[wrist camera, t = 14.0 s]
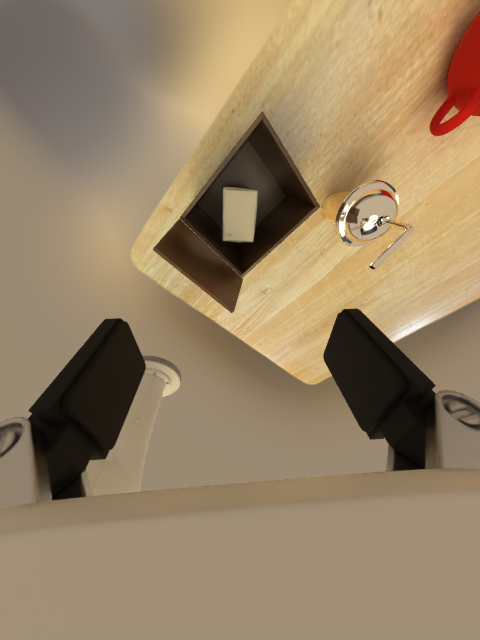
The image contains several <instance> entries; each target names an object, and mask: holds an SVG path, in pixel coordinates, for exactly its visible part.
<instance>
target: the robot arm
mask: <svg viewBox="0 0 480 640" xmlns="http://www.w3.org/2000/svg"><path fill="white" fill-rule="evenodd" d="M324 361H325V363H326V365H327V367H328V369H329V370H330V372H331V374H332V376H333V378H334V380H335V382H336V383H337V385H338V387H339V389H340V391H341V393H342V395H343V396H344V398H345V400H346V402H347V404H348V406H349V407H350V409H351V411H352V413H353V415H354V417H355V419H356V420H357V422H358V424H359V426H360V427H361V429H362V430H363V431H365V432H366V433H367V435H368V436H369V438H370V439H383V438H385V439H386V440H387V442H388V444H389V447H388V457H387V464H386V472H374V473H362V474H350V475H335V476H323V477H310V478H297V479H285V480H273V481H262V482H249V483H237V484H225V485H213V486H201V487H189V488H179V489H167V490H155V491H143V492H140V488H141V482H142V474H143V467H144V462H145V457H146V452H147V448H148V445H149V441H150V437H151V434H152V430H153V426H154V423H155V420H156V416H157V413H158V409H159V405H160V402H161V398H162V395H163V393H164V392H166V391H167V390H168V389H169V388H170V385H171V381H170V378H169V377H168V376H167V375H166V374H165V373H163V372H161V371H159V370H155V369H150V368H146V364H145V361H144V359H143V357H142V354H141V352H140V350H139V348H138V345H137V343H136V341H135V338H134V336H133V334H132V331H131V329H130V327H129V325H128V323H127V322H124V321H123V320H122V319H120V318H118V319H105V320H104V321H103V322H102V323H101V324H100V326H99V327H98V328H97V329H96V330H95V332H94V333H93V334H92V335H91V336H90V338H89V339H88V340H87V341H86V342H85V344H84V345H83V346H82V347H81V348H80V349H79V351H78V352H77V353H76V354H75V355H74V357H73V358H72V359H71V360H70V361H69V363H68V364H67V365H66V366H65V368H64V369H63V370H62V371H61V372H60V373H59V375H58V376H57V377H56V378H55V380H54V381H53V382H52V383H51V384H50V385H49V387H48V388H47V389H46V390H45V391H44V393H43V394H42V395H41V396H40V397H39V399H38V400H37V401H36V402H35V404H34V405H33V406H32V407H31V408H30V409H29V411H30V412H31V413H32V415H31V416H30V417H29V418H28V419H26V418H24V417H14V418H10V419H6V420H4V421H2V422H0V640H480V403H479V402H477V401H476V400H474V399H472V398H470V397H468V396H466V395H464V394H462V393H458V392H455V391H449V390H443V391H439V392H438V393H436V394H435V393H434V392H433V391H432V389H433V388H434V386H436V385H435V384H434V383H433V382H432V381H431V380H430V379H429V378H428V377H427V376H426V375H425V374H424V373H423V372H422V371H421V370H420V369H419V368H418V367H417V366H416V365H415V364H414V363H413V362H412V361H411V360H410V359H409V358H408V357H407V356H406V355H405V354H404V353H402V351H401V350H400V349H399V348H397V347H396V345H395V344H394V343H393V342H392V341H390V340H389V339H388V338H387V337H386V336H385V335H384V334H383V333H382V332H381V331H380V330H379V329H378V328H377V327H376V326H375V325H374V324H373V323H372V322H371V321H370V320H369V319H368V318H367V317H366V316H365V315H364V314H363V313H362V312H361V311H360V310H359V309H344V310H342V312H341V313H339V314H338V315H337V318H336V321H335V324H334V327H333V329H332V332H331V335H330V338H329V341H328V343H327V346H326V349H325V352H324ZM109 451H110V454H111V457H112V459H106V457H107V455H108V452H109Z"/></svg>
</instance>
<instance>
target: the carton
mask: <svg viewBox="0 0 480 640" xmlns="http://www.w3.org/2000/svg"><path fill="white" fill-rule="evenodd" d="M224 186H237V187H247V188H250V189H254V190H257V191H258V196H257V212H256V223H255V232H254V239H253V242H233V241H223V188H224ZM319 207H320V205H319V204H318V202H317V201H316V199H315V197H314V196H313V194H312V192H311V191H310V189H309V187H308V186H307V184H306V182H305V181H304V179H303V177H302V176H301V174H300V172H299V171H298V169H297V167H296V166H295V164H294V162H293V161H292V159H291V158H290V156H289V154H288V153H287V151H286V149H285V148H284V146H283V144H282V143H281V141H280V139H279V138H278V136H277V134H276V133H275V131H274V129H273V128H272V126H271V124H270V123H269V121H268V119H267V118H266V116H265V114H264V113H263V111H262V112H261V114H260V115H259V116H258V118H257V119H256V120H255V121H254V123H253V124H252V125H251V127H250V128H249V129H248V130H247V132H246V133H245V134H244V136H243V137H242V138H241V139H240V141H239V142H238V143H237V145H236V146H235V147H234V149H233V150H232V151H231V152H230V154H229V155H228V156H227V158H226V159H225V160H224V161H223V163H222V164H221V165H220V167H219V168H218V169H217V170H216V172H215V173H214V174H213V176H212V177H211V178H210V179H209V181H208V182H207V183H206V185H205V186H204V187H203V189H202V190H201V191H200V192H199V194H198V195H197V196H196V198H195V199H194V200H193V201H192V203H191V204H190V205H189V207H188V208H187V209H186V210H185V212H184V213H183V214H182V216H181V217H180V219H181V220H182V221H183V222H184V223H185V224H186V225H187V226H188V227H189V228H191V229H192V230H193V231H194V232H195V233H196V234H197V235H198V236H199V237H200V238H201V239H202V240H203V241H204V242H205V243H206V244H207V245H208V246H209V247H210V248H211V249H213V250H214V251H215V252H216V253H217V254H218V255H219V256H220V257H221V258H222V259H223V260H224V261H225V262H226V263H227V264H228V265H229V266H230V267H231V268H232V269H233V270H235V271H236V272H237V273H238V274H239V275H240V276H241V277H242V278H243V277H244V276H245V275H246V274H247V273H248V272H249V271H250V270H251V269H252V268H254V267H255V266H256V265H257V264H258V263H259V262H260V261H261V260H262V259H263V258H265V257H266V256H267V255H268V254H269V253H270V252H271V251H272V250H273V249H274V248H275V247H277V246H278V245H279V244H280V243H281V242H282V241H283V240H284V239H285V238H286V237H288V236H289V235H290V234H291V233H292V232H293V231H294V230H295V229H296V228H297V227H299V226H300V225H301V224H302V223H303V222H304V221H305V220H306V219H307V218H308V217H309V216H311V215H312V214H313V213H314V212H315V211H316V210H317V209H318V208H319Z"/></svg>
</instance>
